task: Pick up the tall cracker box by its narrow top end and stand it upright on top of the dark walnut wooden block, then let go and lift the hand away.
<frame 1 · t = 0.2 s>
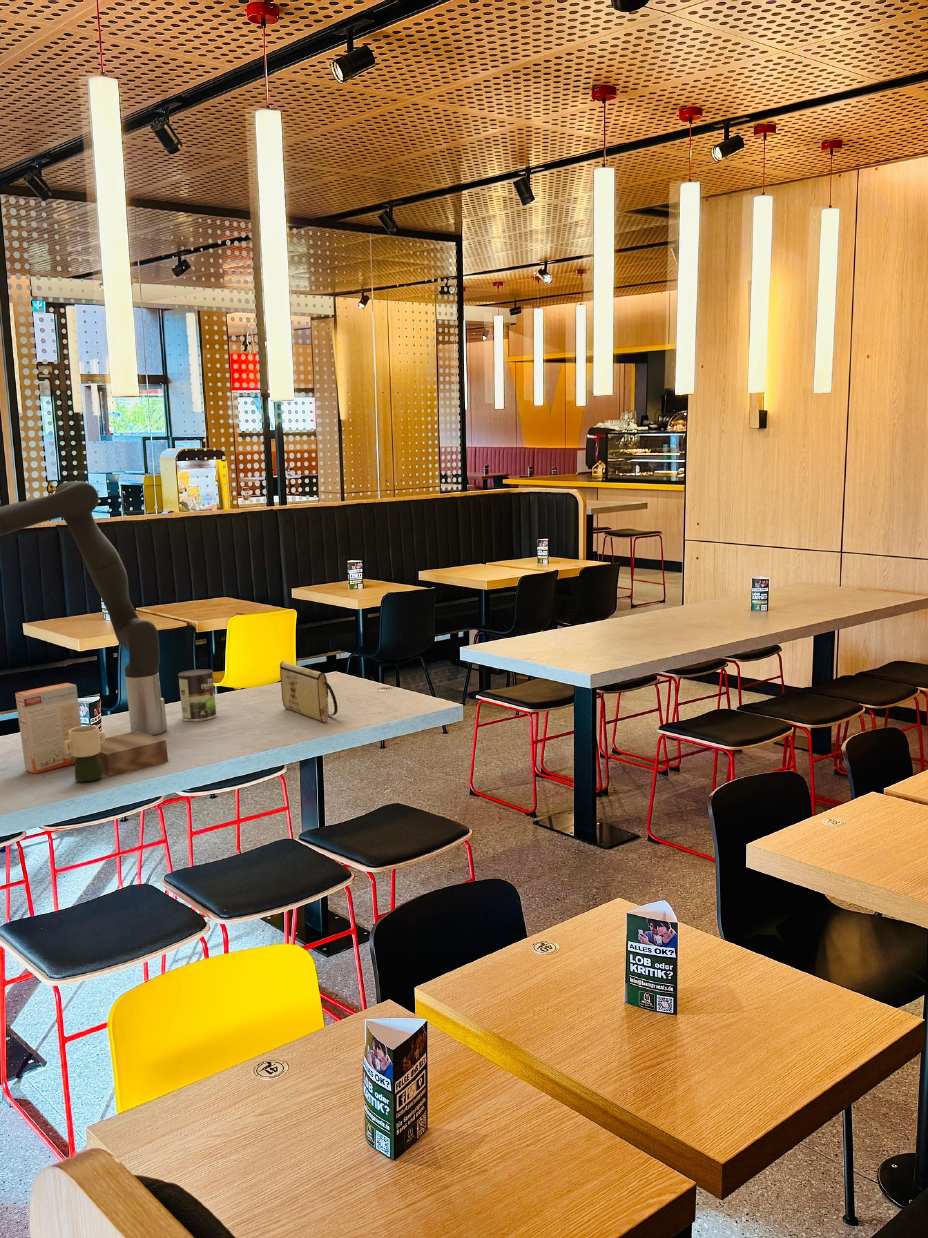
walnut block: (125, 764, 269), on the table
cracker box: (55, 767, 270), on the table
clutch purse: (311, 714, 313), on the table
character mug: (89, 780, 256), on the table
coffee can: (199, 718, 316), on the table
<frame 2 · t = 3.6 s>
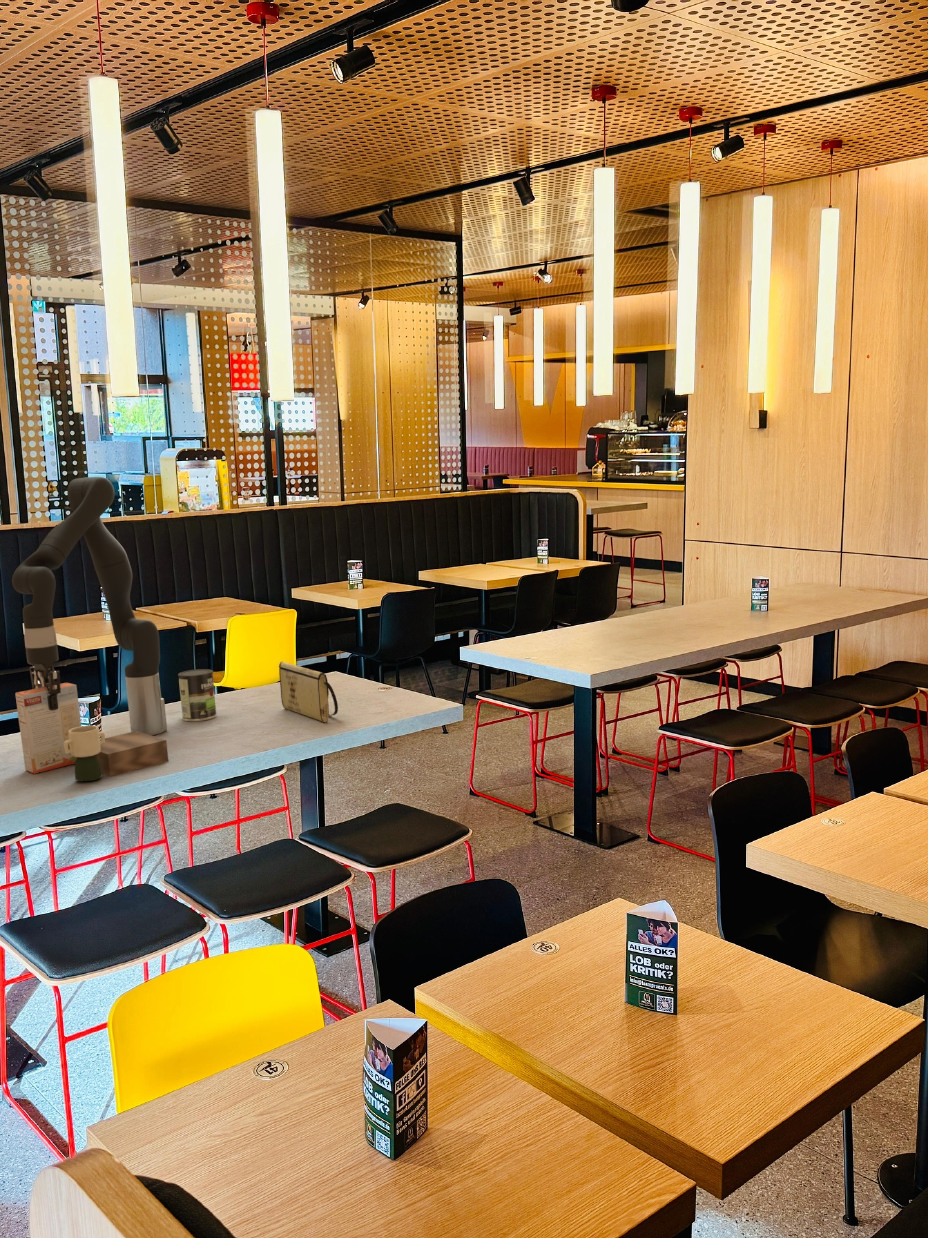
hand: (48, 707, 268), 16 cm above the table, tool pointing down, fingers closed on cracker box, 6 cm apart
cracker box: (55, 766, 270), on the table, touching gripper
everything else where it was.
when the fingers open (23 cm above the table, at t = 11.4 s): cracker box drops 2 cm, resting on walnut block.
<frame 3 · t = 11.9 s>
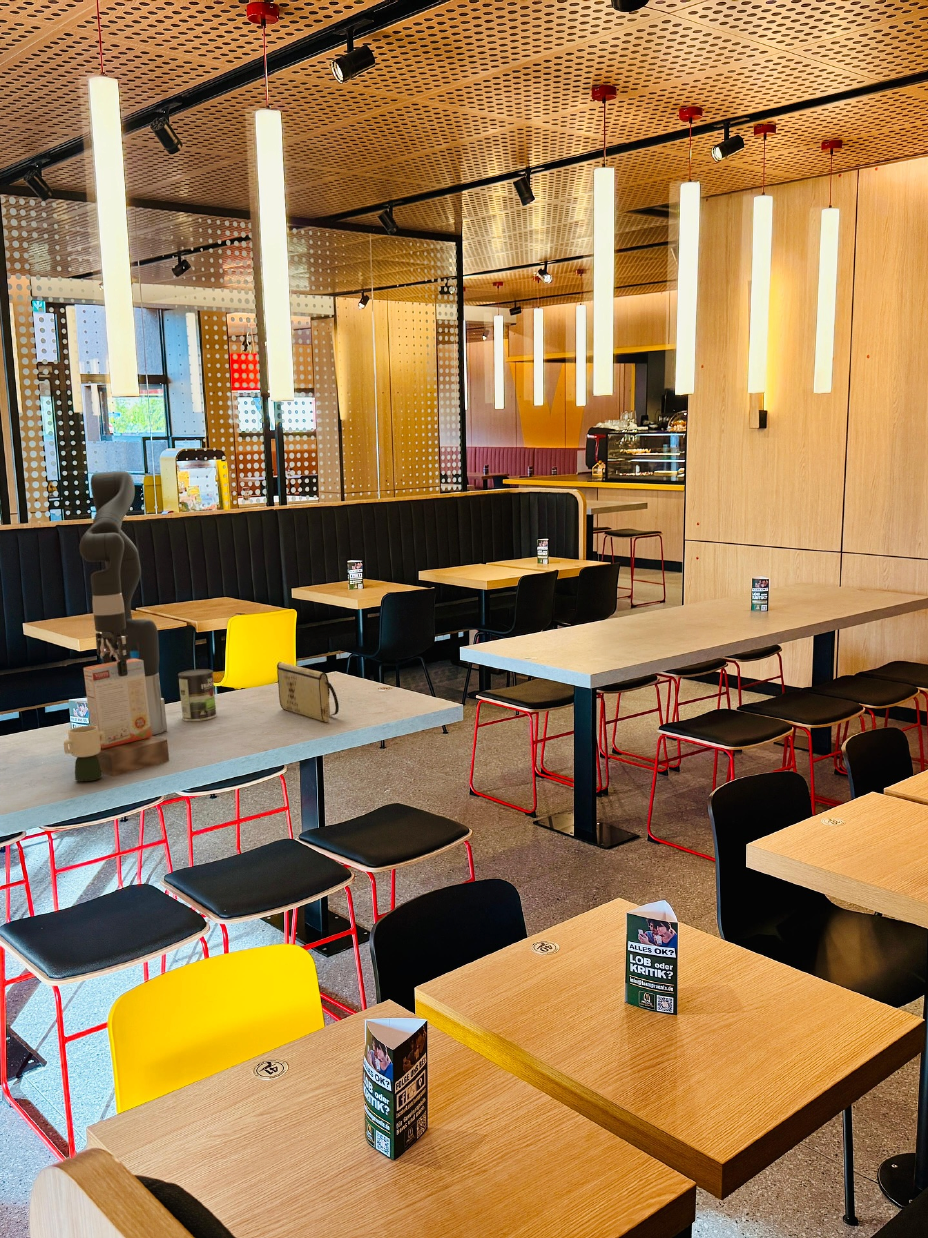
hand: (115, 674, 266), 24 cm above the table, tool pointing down, fingers open, 8 cm apart
walnut block: (125, 764, 269), on the table, touching cracker box
cracker box: (122, 742, 269), point 5 cm above the table, touching walnut block
everything else where it was.
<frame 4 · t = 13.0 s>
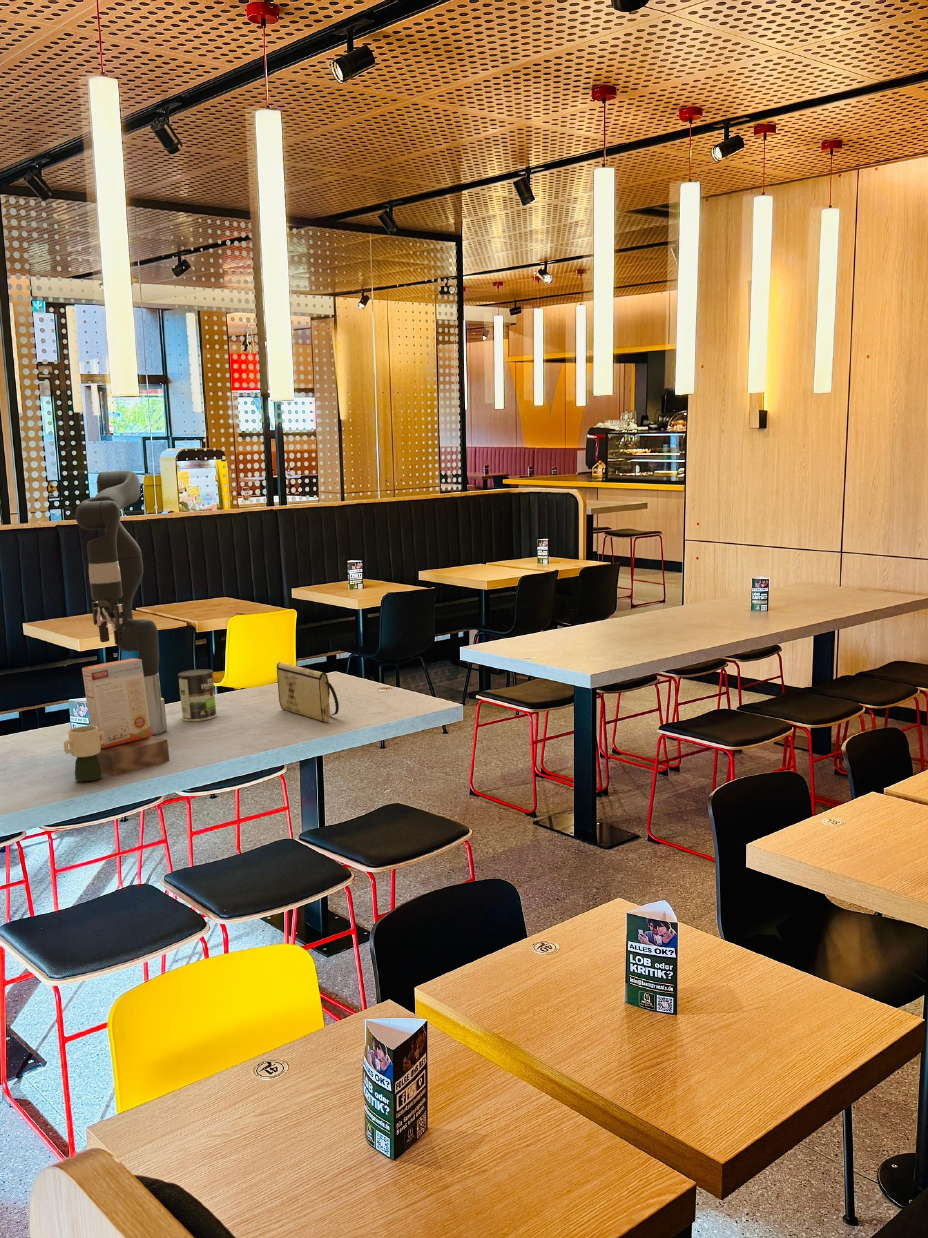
hand: (112, 643, 264), 32 cm above the table, tool pointing down, fingers open, 8 cm apart
nothing on the table moved.
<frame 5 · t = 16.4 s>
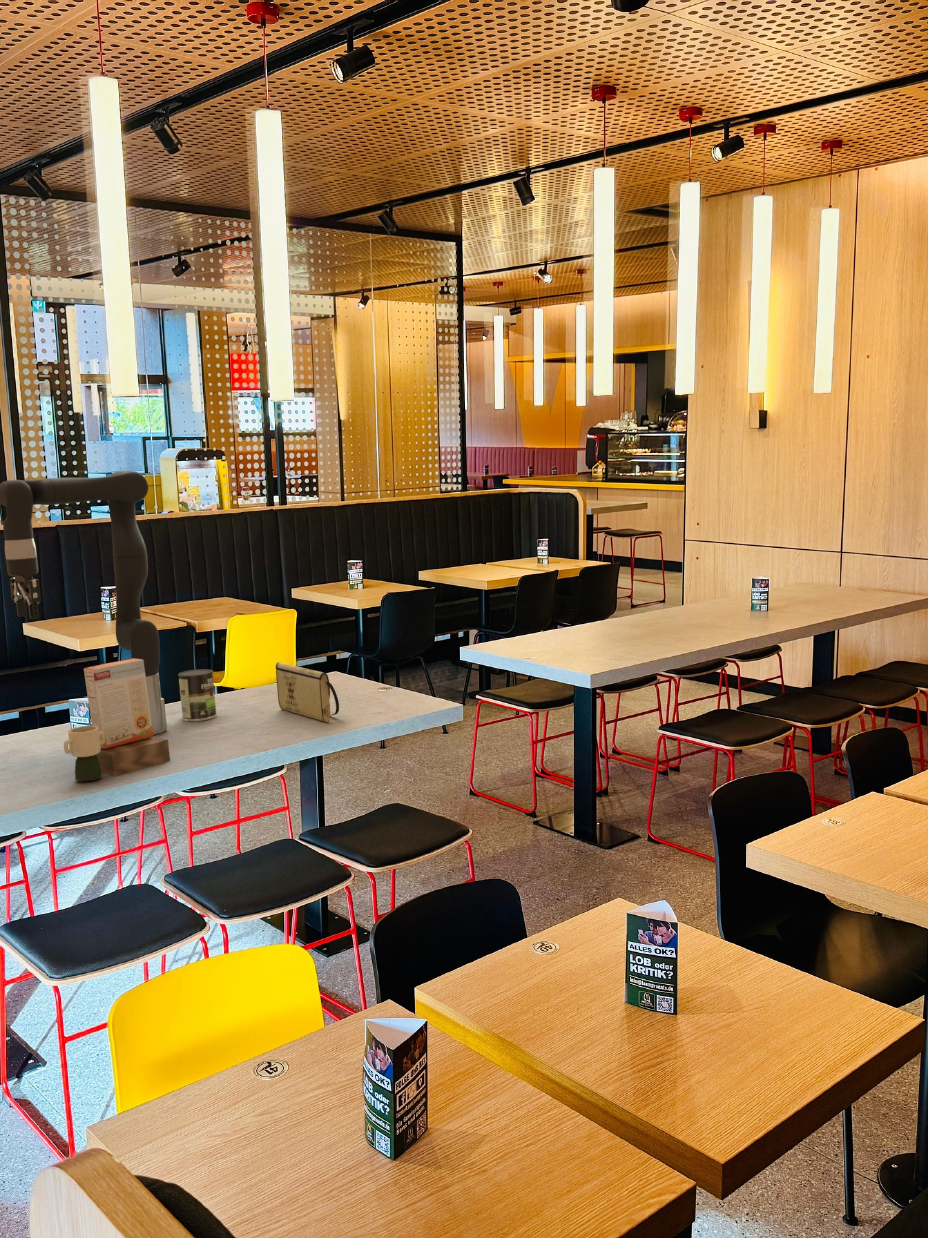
hand: (28, 617, 274), 38 cm above the table, tool pointing down, fingers open, 8 cm apart
walnut block: (126, 764, 269), on the table
cracker box: (124, 743, 268), point 5 cm above the table
everything else where it was.
at the end: cracker box inside the target area on the walnut block (0.1 cm from its centre), point 5.9 cm above the walnut block's base; cracker box tilted 1°; the gripper is holding nothing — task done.
